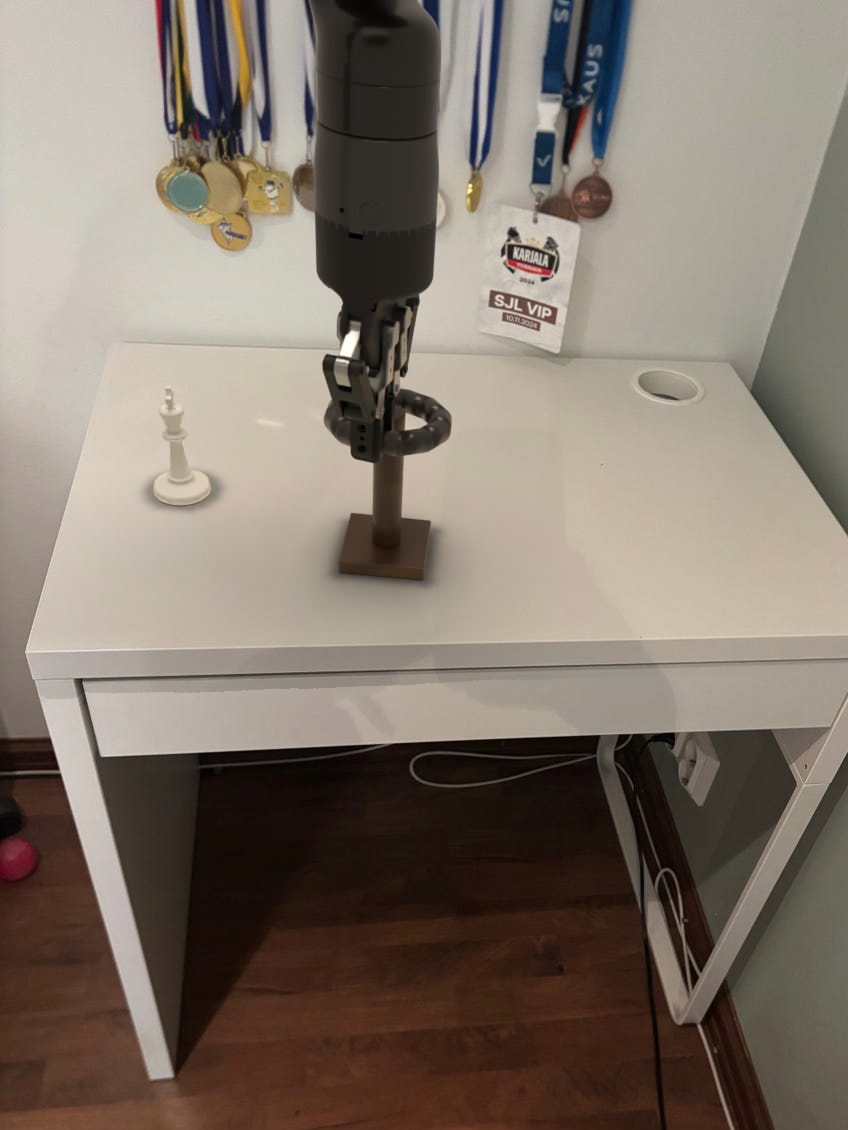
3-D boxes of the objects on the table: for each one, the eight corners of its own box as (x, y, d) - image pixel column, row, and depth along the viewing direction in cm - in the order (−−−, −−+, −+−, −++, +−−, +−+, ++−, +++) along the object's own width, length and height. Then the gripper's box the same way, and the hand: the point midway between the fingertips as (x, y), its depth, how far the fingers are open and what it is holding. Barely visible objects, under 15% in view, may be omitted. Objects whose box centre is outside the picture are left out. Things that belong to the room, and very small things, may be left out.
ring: (315, 452, 69) (316, 429, 68) (334, 398, 77) (334, 377, 76) (447, 466, 70) (449, 443, 69) (452, 411, 77) (454, 390, 76)
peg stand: (338, 572, 78) (336, 429, 70) (350, 523, 84) (350, 385, 75) (423, 580, 79) (432, 439, 70) (430, 531, 84) (439, 394, 75)
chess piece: (150, 505, 83) (132, 401, 76) (157, 475, 87) (141, 372, 80) (208, 505, 84) (196, 402, 77) (213, 475, 87) (201, 374, 81)
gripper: (356, 164, 64) (356, 398, 76) (273, 228, 54) (287, 487, 66) (463, 183, 63) (446, 417, 75) (400, 252, 53) (391, 510, 65)
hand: (372, 449), depth 70 cm, fingers closed on ring, 2 cm apart
